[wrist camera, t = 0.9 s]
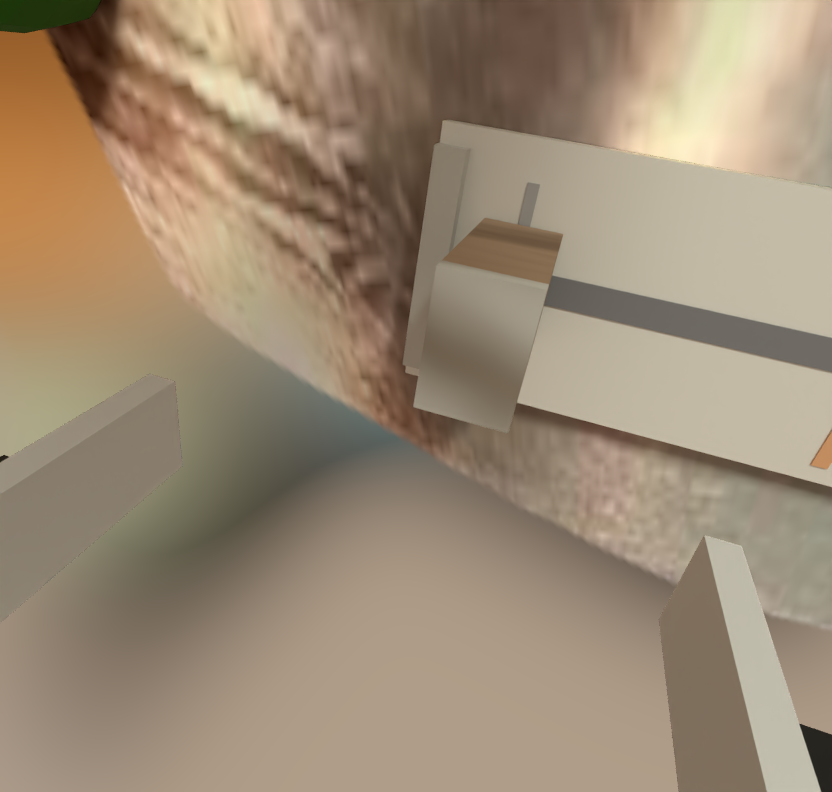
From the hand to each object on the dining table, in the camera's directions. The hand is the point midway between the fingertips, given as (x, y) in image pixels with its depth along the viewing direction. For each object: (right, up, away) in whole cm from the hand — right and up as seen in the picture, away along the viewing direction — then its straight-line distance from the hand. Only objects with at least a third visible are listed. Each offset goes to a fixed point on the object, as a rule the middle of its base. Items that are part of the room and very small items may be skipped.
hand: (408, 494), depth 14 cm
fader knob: (+5, +8, +16) cm, 18 cm away
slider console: (+15, +7, +15) cm, 23 cm away
